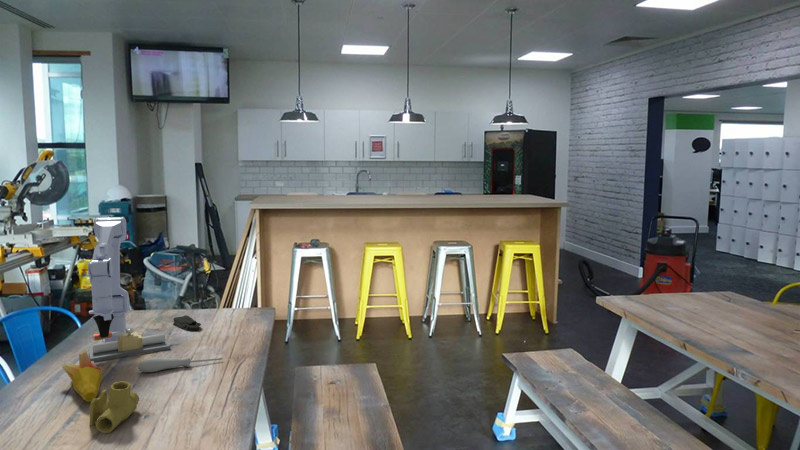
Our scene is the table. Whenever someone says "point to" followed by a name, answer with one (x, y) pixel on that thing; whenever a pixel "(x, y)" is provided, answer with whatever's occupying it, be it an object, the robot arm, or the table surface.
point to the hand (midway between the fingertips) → (104, 337)
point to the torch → (84, 376)
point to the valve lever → (113, 334)
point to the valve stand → (128, 346)
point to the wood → (186, 323)
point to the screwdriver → (166, 363)
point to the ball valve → (113, 406)
